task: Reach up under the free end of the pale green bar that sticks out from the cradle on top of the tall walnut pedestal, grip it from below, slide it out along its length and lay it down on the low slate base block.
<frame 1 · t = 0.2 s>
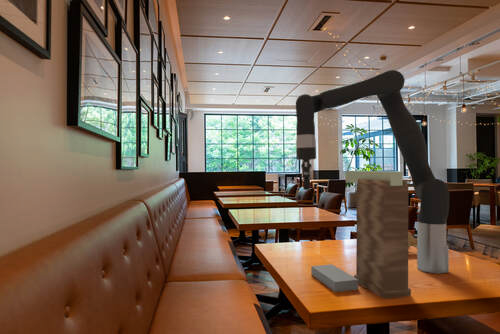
hand: (307, 189, 125), 29 cm above the table, tool pointing down, fingers open, 8 cm apart
base block: (333, 281, 106), on the table
pedestal: (380, 287, 100), on the table
toy: (408, 253, 142), on the table
pale green bar: (371, 183, 105), point 32 cm above the table, touching pedestal
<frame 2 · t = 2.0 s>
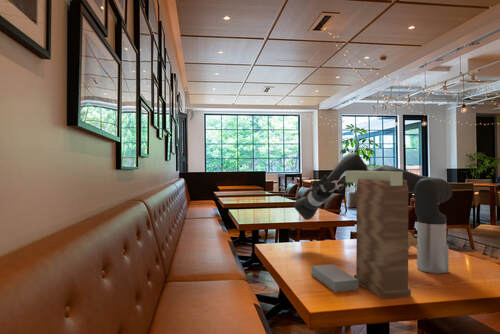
hand: (336, 177, 128), 33 cm above the table, tool pointing upward, fingers open, 8 cm apart
nothing on the table moved.
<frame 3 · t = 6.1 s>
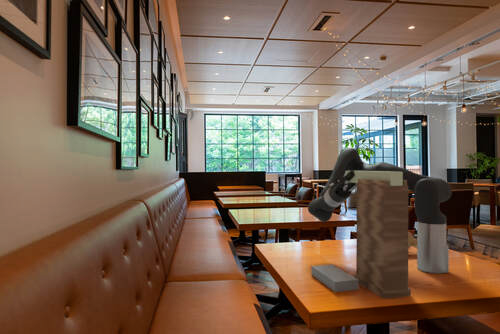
hand: (359, 172, 111), 35 cm above the table, tool pointing upward, fingers closed on pale green bar, 4 cm apart
pale green bar: (371, 183, 105), point 32 cm above the table, touching gripper, pedestal
everything else where it was.
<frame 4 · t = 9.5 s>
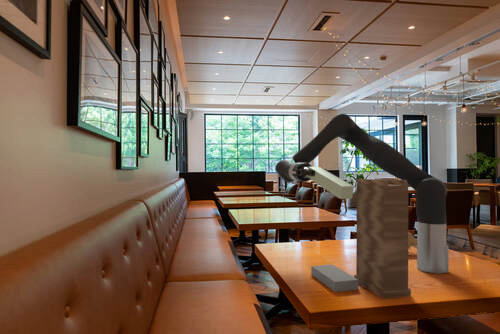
hand: (320, 173, 115), 35 cm above the table, tool horizontal, fingers closed on pale green bar, 4 cm apart
pale green bar: (327, 186, 109), point 31 cm above the table, tilted 14°, touching gripper
everything else where it was.
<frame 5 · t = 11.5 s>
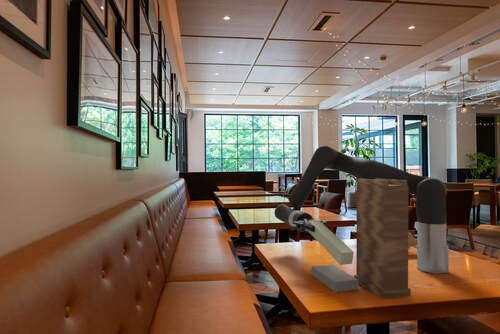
hand: (320, 228, 115), 15 cm above the table, tool horizontal, fingers closed on pale green bar, 4 cm apart
pale green bar: (327, 245, 109), point 11 cm above the table, tilted 14°, touching gripper
everything else where it was.
when the fingers open (8 cm above the table, at t = 13.2 s): pale green bar drops 1 cm, resting on base block.
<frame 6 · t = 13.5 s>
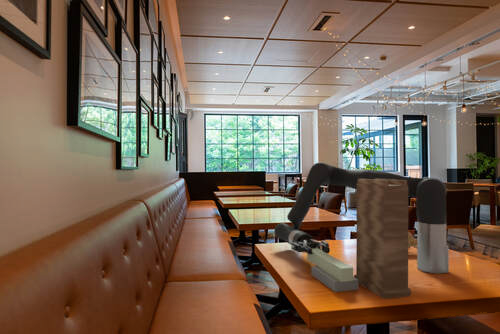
hand: (319, 251, 115), 8 cm above the table, tool horizontal, fingers open, 6 cm apart
pale green bar: (327, 269, 109), point 3 cm above the table, touching base block
everything else where it was.
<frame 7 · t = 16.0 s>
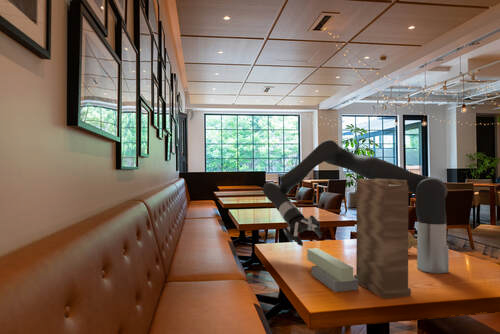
hand: (311, 240, 127), 9 cm above the table, tool tilted 60°, fingers open, 8 cm apart
nothing on the table moved.
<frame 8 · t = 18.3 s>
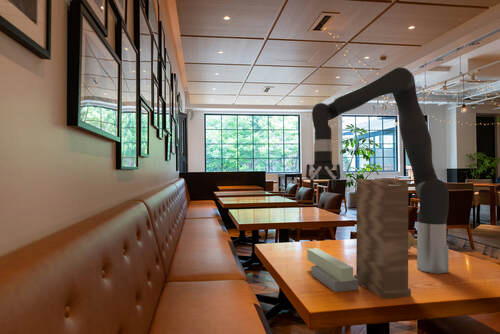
hand: (322, 188, 138), 28 cm above the table, tool pointing down, fingers open, 8 cm apart
nothing on the table moved.
at the end: pale green bar inside the target area on the base block (0.8 cm from its centre), point 3.0 cm above the base block's base; pale green bar touching base block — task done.
